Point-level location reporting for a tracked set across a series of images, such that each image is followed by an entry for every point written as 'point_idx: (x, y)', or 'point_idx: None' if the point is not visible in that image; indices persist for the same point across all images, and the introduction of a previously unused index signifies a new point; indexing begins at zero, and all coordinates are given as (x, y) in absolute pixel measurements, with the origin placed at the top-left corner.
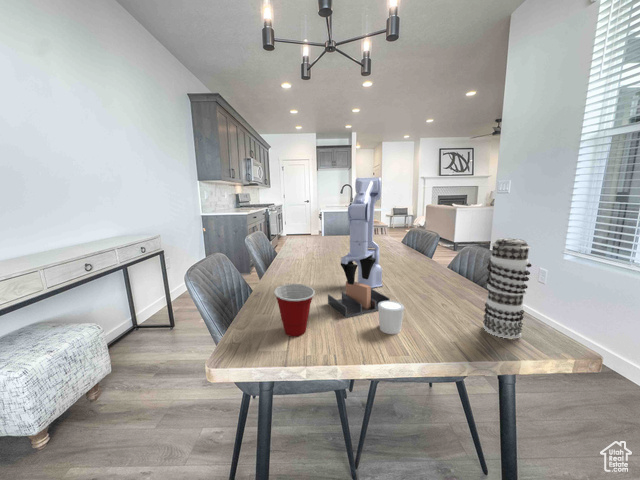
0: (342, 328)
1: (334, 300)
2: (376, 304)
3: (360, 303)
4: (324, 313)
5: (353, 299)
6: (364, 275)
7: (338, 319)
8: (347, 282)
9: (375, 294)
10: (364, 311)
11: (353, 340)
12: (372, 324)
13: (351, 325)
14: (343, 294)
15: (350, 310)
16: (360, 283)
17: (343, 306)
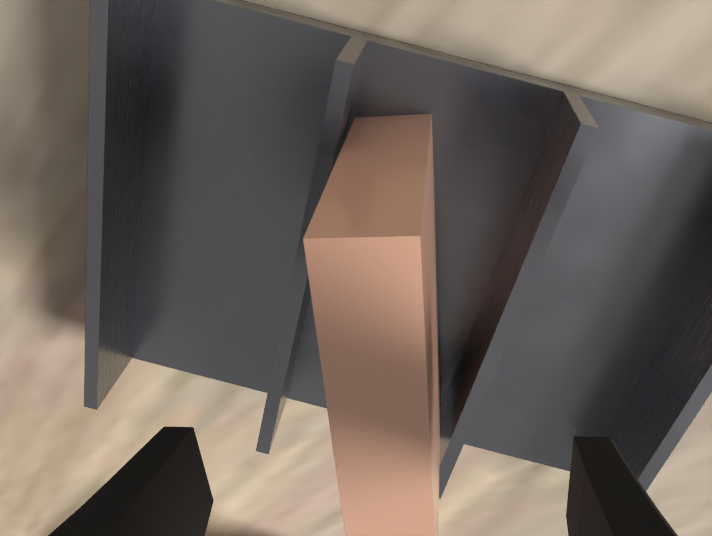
0: (27, 415)
1: (93, 191)
2: (535, 394)
3: (269, 438)
4: (3, 154)
5: (282, 338)
6: (583, 523)
7: (67, 316)
8: (312, 267)
9: (698, 340)
10: (316, 404)
11: (20, 521)
12: (243, 502)
13: (106, 428)
14: (329, 107)
15: (222, 319)
16: (418, 454)
17: (87, 370)
